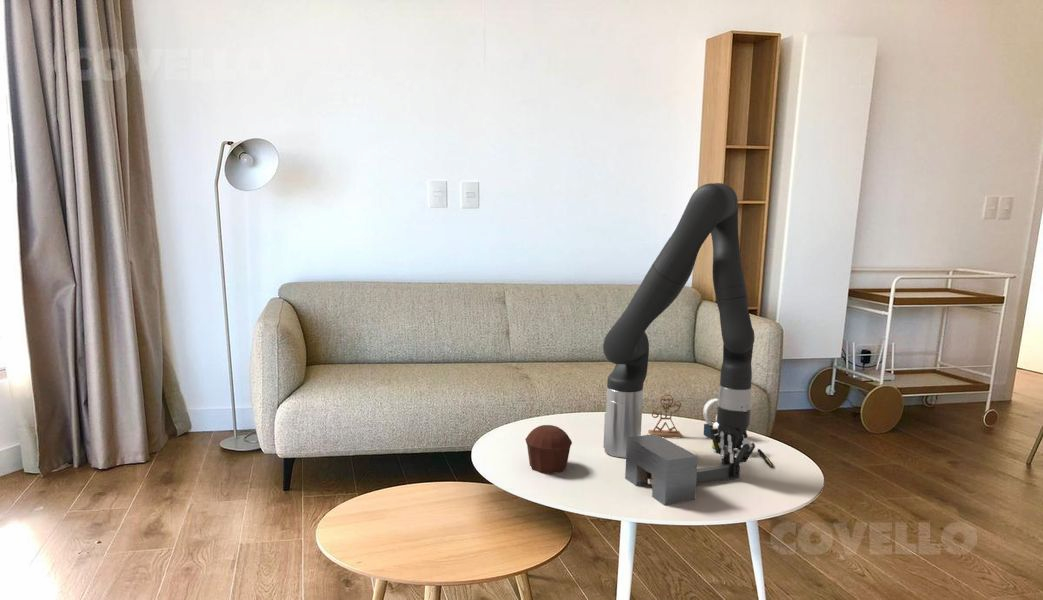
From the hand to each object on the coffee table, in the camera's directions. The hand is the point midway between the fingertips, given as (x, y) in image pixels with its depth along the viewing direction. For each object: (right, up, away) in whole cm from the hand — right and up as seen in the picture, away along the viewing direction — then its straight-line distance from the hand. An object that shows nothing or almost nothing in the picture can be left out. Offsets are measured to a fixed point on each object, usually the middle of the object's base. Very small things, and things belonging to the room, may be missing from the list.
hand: (729, 475), depth 164 cm
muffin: (-43, +1, +4) cm, 44 cm away
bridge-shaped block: (-19, -1, -8) cm, 20 cm away
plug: (-9, -1, -4) cm, 10 cm away
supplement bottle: (+4, +2, +19) cm, 19 cm away
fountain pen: (+13, 0, +13) cm, 19 cm away
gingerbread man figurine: (-9, +3, +31) cm, 32 cm away
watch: (+5, +3, +30) cm, 31 cm away
